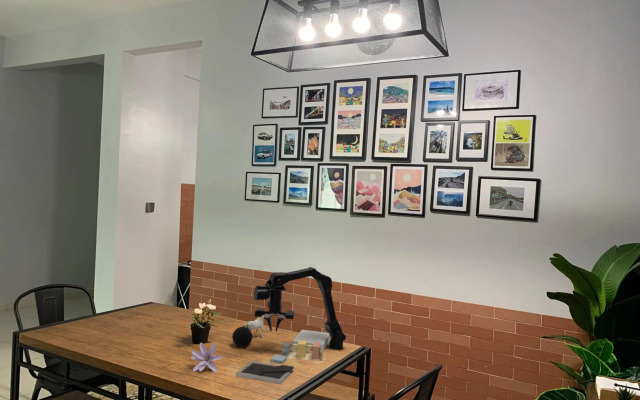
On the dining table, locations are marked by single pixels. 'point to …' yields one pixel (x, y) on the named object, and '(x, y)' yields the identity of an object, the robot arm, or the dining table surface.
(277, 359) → the blue book lying
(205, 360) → the water lily
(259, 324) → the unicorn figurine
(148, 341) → the dining table surface
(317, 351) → the salmon pink box
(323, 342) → the skincare box
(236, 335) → the decorative ball
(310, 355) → the shelf tray
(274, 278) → the robot arm
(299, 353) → the olive yellow block
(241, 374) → the picture frame
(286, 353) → the bookend
